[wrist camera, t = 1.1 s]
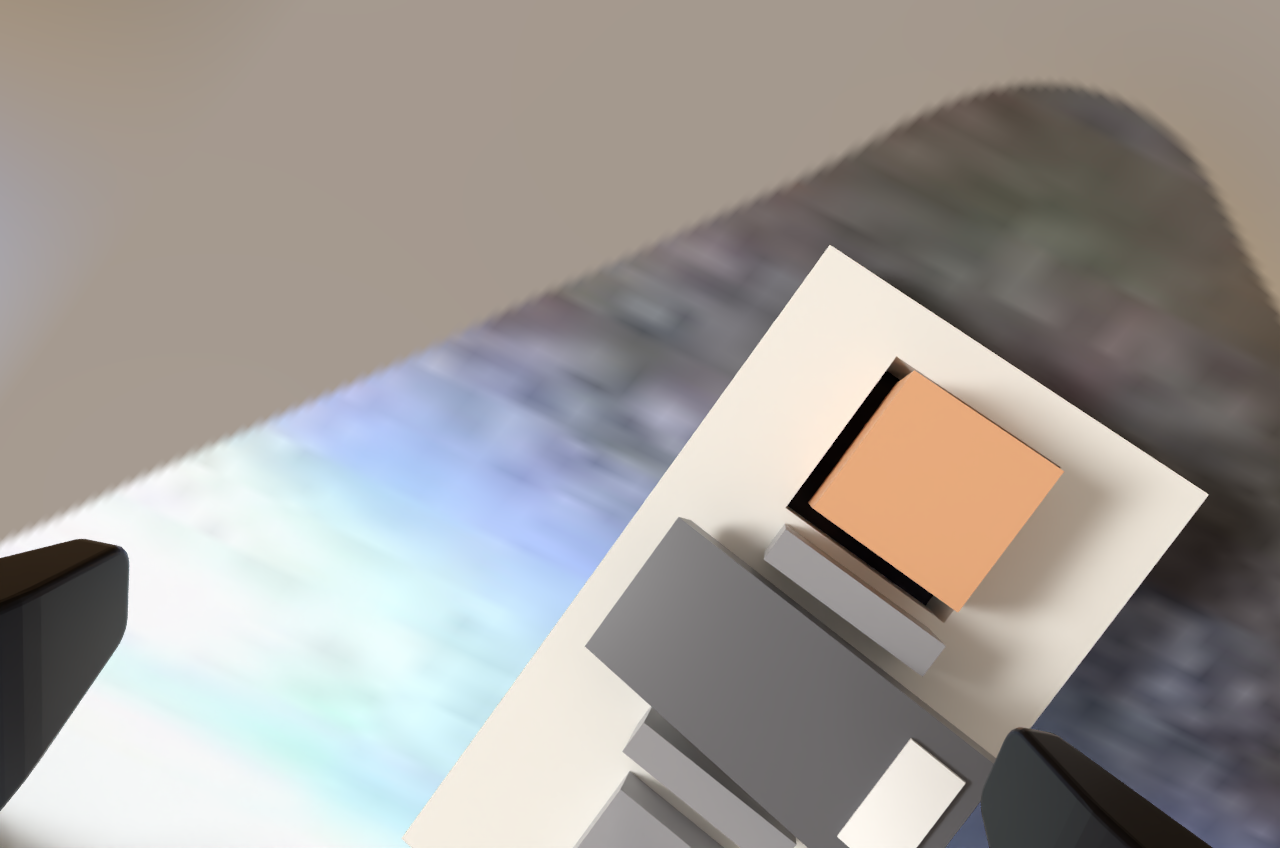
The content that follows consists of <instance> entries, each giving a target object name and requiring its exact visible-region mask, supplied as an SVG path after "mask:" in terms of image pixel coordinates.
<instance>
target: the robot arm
mask: <svg viewBox="0 0 1280 848" xmlns="http://www.w3.org/2000/svg"><path fill="white" fill-rule="evenodd" d="M128 587H129V558H128V555H127V552H126V551H125V550H124V549H123V548H122V547H120V546H117V545H112V544H107V543H102V542H97V541H92V540H87V539H76V540H72V541H68V542H64V543H60V544H56V545H52V546H48V547H44V548H39V549H35V550H31V551H27V552H23V553H19V554H15V555H11V556H7V557H3V558H0V811H1V810H2V808H3V807H4V806H5V805H6V804H7V802H8V801H9V800H10V799H11V797H12V796H13V795H14V794H15V792H16V791H17V790H18V789H19V787H20V786H21V785H22V784H23V783H24V781H25V780H26V779H27V777H28V776H29V775H30V773H31V772H32V770H33V769H34V768H35V766H36V765H37V764H38V762H39V761H40V759H41V758H42V757H43V755H44V754H45V752H46V751H47V749H48V748H49V746H50V745H51V743H52V742H53V741H54V739H55V738H56V736H57V735H58V733H59V732H60V730H61V729H62V727H63V726H64V724H65V723H66V722H67V720H68V719H69V717H70V716H71V714H72V713H73V711H74V710H75V708H76V707H77V705H78V704H79V703H80V701H81V700H82V698H83V697H84V695H85V694H86V692H87V691H88V689H89V688H90V686H91V685H92V684H93V682H94V681H95V679H96V678H97V676H98V675H99V673H100V672H101V670H102V669H103V667H104V666H105V665H106V663H107V662H108V660H109V659H110V657H111V656H112V654H113V653H114V651H115V650H116V648H117V647H118V645H119V644H120V642H121V640H122V637H123V635H124V632H125V629H126V625H127V618H128ZM981 812H982V818H983V822H984V827H985V831H986V835H987V840H988V844H989V848H1212V847H1211V846H1209V845H1208V844H1207V843H1205V842H1204V841H1203V840H1201V839H1200V838H1198V837H1197V836H1196V835H1194V834H1193V833H1192V832H1190V831H1189V830H1187V829H1186V828H1185V827H1183V826H1182V825H1180V824H1179V823H1178V822H1176V821H1175V820H1174V819H1172V818H1171V817H1169V816H1168V815H1167V814H1165V813H1164V812H1163V811H1161V810H1160V809H1158V808H1157V807H1156V806H1154V805H1153V804H1151V803H1150V802H1149V801H1147V800H1146V799H1145V798H1143V797H1142V796H1140V795H1139V794H1138V793H1136V792H1135V791H1133V790H1132V789H1131V788H1129V787H1128V786H1127V785H1125V784H1124V783H1122V782H1121V781H1120V780H1118V779H1117V778H1116V777H1114V776H1113V775H1111V774H1110V773H1109V772H1107V771H1106V770H1104V769H1103V768H1102V767H1100V766H1099V765H1098V764H1096V763H1095V762H1093V761H1092V760H1091V759H1089V758H1088V757H1087V756H1085V755H1084V754H1082V753H1081V752H1080V751H1078V750H1077V749H1075V748H1074V747H1073V746H1071V745H1070V744H1069V743H1067V742H1066V741H1064V740H1063V739H1062V738H1060V737H1059V736H1057V735H1055V734H1052V733H1049V732H1044V731H1039V730H1034V729H1029V728H1023V727H1018V728H1015V729H1013V730H1011V731H1010V732H1009V733H1008V734H1007V736H1006V738H1005V740H1004V742H1003V744H1002V746H1001V749H1000V751H999V753H998V755H997V757H996V760H995V762H994V764H993V766H992V769H991V771H990V773H989V775H988V778H987V780H986V782H985V784H984V787H983V790H982V795H981Z"/></svg>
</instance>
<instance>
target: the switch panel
mask: <svg viewBox="0 0 1280 848" xmlns="http://www.w3.org/2000/svg"><path fill="white" fill-rule="evenodd" d="M914 370H915V371H916V372H918V373H919V374H921V375H922V376H924V377H925V378H926V379H928V380H929V381H931V382H932V383H934V384H935V385H937V386H938V387H940V388H941V389H943V390H944V391H946V392H947V393H949V394H950V395H952V396H953V397H955V398H956V399H958V400H959V401H961V402H962V403H964V404H965V405H967V406H968V407H970V408H971V409H972V410H974V411H975V412H977V413H978V414H980V415H981V416H983V417H984V418H986V419H987V420H989V421H990V422H992V423H993V424H995V425H996V426H998V427H999V428H1001V429H1002V430H1004V431H1005V432H1007V433H1008V434H1010V435H1011V436H1013V437H1014V438H1016V439H1017V440H1018V441H1020V442H1021V443H1023V444H1024V445H1026V446H1027V447H1029V448H1030V449H1032V450H1033V451H1035V452H1036V453H1038V454H1039V455H1041V456H1042V457H1044V458H1045V459H1047V460H1048V461H1050V462H1051V463H1053V464H1054V465H1056V466H1057V467H1059V468H1060V469H1061V470H1063V471H1064V472H1063V474H1062V475H1061V476H1060V478H1059V479H1058V480H1057V482H1056V483H1055V484H1054V486H1053V487H1052V488H1051V490H1050V491H1049V492H1048V494H1047V495H1046V496H1045V498H1044V499H1043V500H1042V502H1041V503H1040V504H1039V506H1038V507H1037V508H1036V510H1035V511H1034V512H1033V514H1032V515H1031V516H1030V518H1029V519H1028V520H1027V522H1026V523H1025V524H1024V526H1023V527H1022V528H1021V530H1020V531H1019V532H1018V534H1017V535H1016V536H1015V538H1014V539H1013V540H1012V542H1011V543H1010V544H1009V546H1008V547H1007V548H1006V550H1005V551H1004V552H1003V554H1002V555H1001V556H1000V558H999V559H998V560H997V562H996V563H995V564H994V566H993V567H992V568H991V570H990V571H989V572H988V574H987V575H986V576H985V578H984V579H983V580H982V582H981V583H980V584H979V586H978V587H977V588H976V590H975V591H974V592H973V594H972V595H971V596H970V598H969V599H968V600H967V602H966V603H965V604H964V606H963V607H962V608H961V610H960V611H959V612H956V611H955V610H953V609H952V608H951V607H949V606H948V605H946V604H945V603H944V602H942V601H941V600H939V599H938V598H937V597H935V596H934V595H933V597H932V598H931V599H930V601H929V602H928V603H927V605H926V606H925V605H924V604H922V603H921V602H920V601H918V600H917V599H916V598H914V597H913V596H911V595H910V594H909V593H907V592H906V591H904V590H903V589H902V588H900V587H899V586H898V585H896V584H895V583H893V582H892V581H891V580H889V579H888V578H887V577H885V576H884V575H882V574H881V573H880V572H878V571H877V570H875V569H874V568H873V567H871V566H870V565H869V564H867V563H866V562H864V561H863V560H862V559H860V558H859V557H858V556H856V555H855V554H853V553H852V552H851V551H849V550H848V549H847V548H845V547H844V546H842V545H841V544H840V543H838V542H837V541H835V540H834V539H833V538H831V537H830V536H829V535H827V534H826V533H824V532H823V531H822V530H820V529H819V528H818V527H816V526H815V525H813V524H812V523H811V522H809V521H808V520H806V519H805V518H804V517H802V516H801V515H800V514H798V513H797V512H795V511H794V510H793V509H791V508H790V507H789V506H787V505H788V504H789V502H790V501H791V500H792V498H793V497H794V496H795V494H796V493H797V491H798V490H799V489H800V487H801V486H802V485H803V483H804V482H805V481H806V479H807V478H808V476H809V475H810V474H811V472H812V471H813V470H814V468H815V467H816V466H817V464H818V463H819V461H820V460H821V459H822V457H823V456H824V455H825V453H826V452H827V451H828V449H829V448H830V446H831V445H832V444H833V442H834V441H835V440H836V438H837V437H838V436H839V434H840V433H841V431H842V430H843V429H844V427H845V426H846V425H847V423H848V422H849V421H850V419H851V418H852V416H853V415H854V414H855V412H856V411H857V410H858V408H859V407H860V406H861V404H862V403H863V401H864V400H865V399H866V397H867V396H868V395H869V393H870V392H871V390H872V389H873V388H874V386H875V385H876V384H877V382H878V381H879V380H880V378H881V377H882V375H883V374H884V373H885V371H888V372H889V373H891V374H892V375H894V376H895V377H896V378H898V379H899V380H902V379H903V378H904V377H906V376H907V375H908V374H910V373H911V372H913V371H914ZM1208 495H1209V494H1207V493H1206V492H1204V491H1203V490H1201V489H1200V488H1198V487H1197V486H1195V485H1193V484H1192V483H1190V482H1189V481H1187V480H1186V479H1184V478H1183V477H1181V476H1180V475H1178V474H1177V473H1175V472H1174V471H1172V470H1171V469H1169V468H1168V467H1166V466H1165V465H1163V464H1162V463H1160V462H1159V461H1157V460H1156V459H1154V458H1152V457H1151V456H1149V455H1148V454H1146V453H1145V452H1143V451H1142V450H1140V449H1139V448H1137V447H1136V446H1134V445H1133V444H1131V443H1130V442H1128V441H1127V440H1125V439H1124V438H1122V437H1121V436H1119V435H1118V434H1116V433H1115V432H1113V431H1111V430H1110V429H1108V428H1107V427H1105V426H1104V425H1102V424H1101V423H1099V422H1098V421H1096V420H1095V419H1093V418H1092V417H1090V416H1089V415H1087V414H1086V413H1084V412H1083V411H1081V410H1080V409H1078V408H1077V407H1075V406H1074V405H1072V404H1070V403H1069V402H1067V401H1066V400H1064V399H1063V398H1061V397H1060V396H1058V395H1057V394H1055V393H1054V392H1052V391H1051V390H1049V389H1048V388H1046V387H1045V386H1043V385H1042V384H1040V383H1039V382H1037V381H1036V380H1034V379H1033V378H1031V377H1029V376H1028V375H1026V374H1025V373H1023V372H1022V371H1020V370H1019V369H1017V368H1016V367H1014V366H1013V365H1011V364H1010V363H1008V362H1007V361H1005V360H1004V359H1002V358H1001V357H999V356H998V355H996V354H995V353H993V352H992V351H990V350H988V349H987V348H985V347H984V346H982V345H981V344H979V343H978V342H976V341H975V340H973V339H972V338H970V337H969V336H967V335H966V334H964V333H963V332H961V331H960V330H958V329H957V328H955V327H954V326H952V325H951V324H949V323H947V322H946V321H944V320H943V319H941V318H940V317H938V316H937V315H935V314H934V313H932V312H931V311H929V310H928V309H926V308H925V307H923V306H922V305H920V304H919V303H917V302H916V301H914V300H913V299H911V298H910V297H908V296H907V295H905V294H903V293H902V292H900V291H899V290H897V289H896V288H894V287H893V286H891V285H890V284H888V283H887V282H885V281H884V280H882V279H881V278H879V277H878V276H876V275H875V274H873V273H872V272H870V271H869V270H867V269H866V268H864V267H862V266H861V265H859V264H858V263H856V262H855V261H853V260H852V259H850V258H849V257H847V256H846V255H844V254H843V253H841V252H840V251H838V250H837V249H835V248H834V247H832V246H831V245H830V246H829V247H828V248H827V250H826V251H825V252H824V254H823V255H822V257H821V258H820V259H819V261H818V262H817V264H816V265H815V266H814V268H813V269H812V270H811V272H810V273H809V275H808V276H807V277H806V279H805V280H804V282H803V283H802V284H801V286H800V287H799V288H798V290H797V291H796V293H795V294H794V295H793V297H792V298H791V300H790V301H789V302H788V304H787V305H786V306H785V308H784V309H783V311H782V312H781V313H780V315H779V316H778V318H777V319H776V320H775V322H774V323H773V324H772V326H771V327H770V329H769V330H768V331H767V333H766V334H765V336H764V337H763V338H762V340H761V341H760V343H759V344H758V345H757V347H756V348H755V349H754V351H753V352H752V354H751V355H750V356H749V358H748V359H747V361H746V362H745V363H744V365H743V366H742V367H741V369H740V370H739V372H738V373H737V374H736V376H735V377H734V379H733V380H732V381H731V383H730V384H729V385H728V387H727V388H726V390H725V391H724V392H723V394H722V395H721V397H720V398H719V399H718V401H717V402H716V403H715V405H714V406H713V408H712V409H711V410H710V412H709V413H708V415H707V416H706V417H705V419H704V420H703V421H702V423H701V424H700V426H699V427H698V428H697V430H696V431H695V433H694V434H693V435H692V437H691V438H690V439H689V441H688V442H687V444H686V445H685V446H684V448H683V449H682V451H681V452H680V453H679V455H678V456H677V457H676V459H675V460H674V462H673V463H672V464H671V466H670V467H669V469H668V470H667V471H666V473H665V474H664V475H663V477H662V478H661V480H660V481H659V482H658V484H657V485H656V487H655V488H654V489H653V491H652V492H651V493H650V495H649V496H648V498H647V499H646V500H645V502H644V503H643V505H642V506H641V507H640V509H639V510H638V511H637V513H636V514H635V516H634V517H633V518H632V520H631V521H630V523H629V524H628V525H627V527H626V528H625V529H624V531H623V532H622V534H621V535H620V536H619V538H618V539H617V541H616V542H615V543H614V545H613V546H612V548H611V549H610V550H609V552H608V553H607V554H606V556H605V557H604V559H603V560H602V561H601V563H600V564H599V566H598V567H597V568H596V570H595V571H594V572H593V574H592V575H591V577H590V578H589V579H588V581H587V582H586V584H585V585H584V586H583V588H582V589H581V590H580V592H579V593H578V595H577V596H576V597H575V599H574V600H573V602H572V603H571V604H570V606H569V607H568V608H567V610H566V611H565V613H564V614H563V615H562V617H561V618H560V620H559V621H558V622H557V624H556V625H555V626H554V628H553V629H552V631H551V632H550V633H549V635H548V636H547V638H546V639H545V640H544V642H543V643H542V644H541V646H540V647H539V649H538V650H537V651H536V653H535V654H534V656H533V657H532V658H531V660H530V661H529V662H528V664H527V665H526V667H525V668H524V669H523V671H522V672H521V674H520V675H519V676H518V678H517V679H516V680H515V682H514V683H513V685H512V686H511V687H510V689H509V690H508V692H507V693H506V694H505V696H504V697H503V698H502V700H501V701H500V703H499V704H498V705H497V707H496V708H495V710H494V711H493V712H492V714H491V715H490V716H489V718H488V719H487V721H486V722H485V723H484V725H483V726H482V728H481V729H480V730H479V732H478V733H477V735H476V736H475V737H474V739H473V740H472V741H471V743H470V744H469V746H468V747H467V748H466V750H465V751H464V753H463V754H462V755H461V757H460V758H459V759H458V761H457V762H456V764H455V765H454V766H453V768H452V769H451V771H450V772H449V773H448V775H447V776H446V777H445V779H444V780H443V782H442V783H441V784H440V786H439V787H438V789H437V790H436V791H435V793H434V794H433V795H432V797H431V798H430V800H429V801H428V802H427V804H426V805H425V807H424V808H423V809H422V811H421V812H420V813H419V815H418V816H417V818H416V819H415V820H414V822H413V823H412V825H411V826H410V827H409V829H408V830H407V831H406V833H405V834H404V836H403V837H402V838H401V839H403V840H404V841H405V842H406V843H407V844H408V845H409V846H410V847H412V848H807V847H806V846H805V845H804V844H803V843H802V842H801V841H800V840H799V839H797V838H796V837H795V836H794V835H793V834H792V833H791V832H790V831H789V830H787V829H786V828H785V827H784V826H783V825H782V824H781V823H780V822H779V821H778V820H776V819H775V818H774V817H773V816H772V815H771V814H770V813H769V812H768V811H766V810H765V809H764V808H763V807H762V806H761V805H760V804H759V803H758V802H756V801H755V800H754V799H753V798H752V797H751V796H750V795H749V794H748V793H747V792H745V791H744V790H743V789H742V788H741V787H740V786H739V785H738V784H737V783H735V782H734V781H733V780H732V779H731V778H730V777H729V776H728V775H727V774H725V773H724V772H723V771H722V770H721V769H720V768H719V767H718V766H717V765H715V764H714V763H713V762H712V761H711V760H710V759H709V758H708V757H707V756H706V755H704V754H703V753H702V752H701V751H700V750H699V749H698V748H697V747H696V746H694V745H693V744H692V743H691V742H690V741H689V740H688V739H687V738H686V737H684V736H683V735H682V734H681V733H680V732H679V731H678V730H677V729H676V728H675V727H673V726H672V725H671V724H670V723H669V722H668V721H667V720H666V719H665V718H663V717H662V716H661V715H660V714H659V713H658V712H657V711H656V710H655V709H653V708H652V707H651V706H650V705H649V704H648V703H647V702H646V701H645V700H644V699H642V698H641V697H640V696H639V695H638V694H637V693H636V692H635V691H634V690H632V689H631V688H630V687H629V686H628V685H627V684H626V683H625V682H624V681H622V680H621V679H620V678H619V677H618V676H617V675H616V674H615V673H614V672H612V671H611V670H610V669H609V668H608V667H607V666H606V665H605V664H604V663H603V662H601V661H600V660H599V659H598V658H597V657H596V656H595V655H594V654H593V653H591V652H590V651H589V650H588V649H587V648H586V647H585V645H586V644H587V642H588V641H589V640H590V638H591V637H592V636H593V634H594V633H595V631H596V630H597V629H598V627H599V626H600V625H601V623H602V622H603V620H604V619H605V618H606V616H607V615H608V614H609V612H610V611H611V609H612V608H613V607H614V605H615V604H616V602H617V601H618V600H619V598H620V597H621V596H622V594H623V593H624V591H625V590H626V589H627V587H628V586H629V585H630V583H631V582H632V580H633V579H634V578H635V576H636V575H637V574H638V572H639V571H640V569H641V568H642V567H643V565H644V564H645V562H646V561H647V560H648V558H649V557H650V556H651V554H652V553H653V551H654V550H655V549H656V547H657V546H658V545H659V543H660V542H661V540H662V539H663V538H664V536H665V535H666V534H667V532H668V531H669V529H670V528H671V527H672V525H673V524H674V523H675V521H676V520H677V518H678V517H681V518H685V519H689V520H691V521H693V522H694V523H695V524H697V525H698V526H699V527H700V528H702V529H703V530H704V531H705V532H707V533H708V534H709V535H711V536H712V537H713V538H714V539H716V540H717V541H718V542H720V543H721V544H722V545H723V546H725V547H726V548H727V549H729V550H730V551H731V552H732V553H734V554H735V555H736V556H738V557H739V558H740V559H741V560H743V561H744V562H745V563H747V564H748V565H749V566H750V567H752V568H753V569H754V570H755V571H757V572H758V573H759V574H761V575H762V576H763V577H764V578H766V579H767V580H768V581H770V582H771V583H772V584H773V585H775V586H776V587H777V588H779V589H780V590H781V591H782V592H784V593H785V594H786V595H788V596H789V597H790V598H791V599H793V600H794V601H795V602H796V603H798V604H799V605H800V606H802V607H803V608H804V609H805V610H807V611H808V612H809V613H811V614H812V615H813V616H814V617H816V618H817V619H818V620H820V621H821V622H822V623H823V624H825V625H826V626H827V627H829V628H830V629H831V630H832V631H834V632H835V633H836V634H838V635H839V636H840V637H841V638H843V639H844V640H845V641H846V642H848V643H849V644H850V645H852V646H853V647H854V648H855V649H857V650H858V651H859V652H861V653H862V654H863V655H864V656H866V657H867V658H868V659H870V660H871V661H872V662H873V663H875V664H876V665H877V666H879V667H880V668H881V669H882V670H884V671H885V672H886V673H887V674H889V675H890V676H891V677H893V678H894V679H895V680H896V681H898V682H899V683H900V684H902V685H903V686H904V687H905V688H907V689H908V690H909V691H911V692H912V693H913V694H914V695H916V696H917V697H918V698H920V699H921V700H922V701H923V702H925V703H926V704H927V705H929V706H930V707H931V708H932V709H934V710H935V711H936V712H937V713H939V714H940V715H941V716H943V717H944V718H945V719H946V720H948V721H949V722H950V723H952V724H953V725H954V726H955V727H957V728H958V729H959V730H961V731H962V732H963V733H964V734H966V735H967V736H968V737H970V738H971V739H972V740H973V741H975V742H976V743H977V744H978V745H980V746H981V747H982V748H984V749H985V750H986V751H987V752H989V753H990V754H991V755H993V756H994V757H995V758H996V757H997V755H998V753H999V751H1000V749H1001V746H1002V744H1003V742H1004V740H1005V738H1006V736H1007V734H1008V733H1009V732H1010V731H1011V730H1013V729H1015V728H1018V727H1023V728H1029V729H1030V728H1031V727H1032V726H1033V724H1034V723H1035V722H1036V720H1037V719H1038V718H1039V716H1040V715H1041V714H1042V713H1043V711H1044V710H1045V709H1046V707H1047V706H1048V705H1049V703H1050V702H1051V701H1052V699H1053V698H1054V697H1055V695H1056V694H1057V693H1058V692H1059V690H1060V689H1061V688H1062V686H1063V685H1064V684H1065V682H1066V681H1067V680H1068V678H1069V677H1070V676H1071V675H1072V673H1073V672H1074V671H1075V669H1076V668H1077V667H1078V665H1079V664H1080V663H1081V661H1082V660H1083V659H1084V658H1085V656H1086V655H1087V654H1088V652H1089V651H1090V650H1091V648H1092V647H1093V646H1094V644H1095V643H1096V642H1097V641H1098V639H1099V638H1100V637H1101V635H1102V634H1103V633H1104V631H1105V630H1106V629H1107V627H1108V626H1109V625H1110V623H1111V622H1112V621H1113V620H1114V618H1115V617H1116V616H1117V614H1118V613H1119V612H1120V610H1121V609H1122V608H1123V606H1124V605H1125V604H1126V603H1127V601H1128V600H1129V599H1130V597H1131V596H1132V595H1133V593H1134V592H1135V591H1136V589H1137V588H1138V587H1139V586H1140V584H1141V583H1142V582H1143V580H1144V579H1145V578H1146V576H1147V575H1148V574H1149V572H1150V571H1151V570H1152V569H1153V567H1154V566H1155V565H1156V563H1157V562H1158V561H1159V559H1160V558H1161V557H1162V555H1163V554H1164V553H1165V551H1166V550H1167V549H1168V548H1169V546H1170V545H1171V544H1172V542H1173V541H1174V540H1175V538H1176V537H1177V536H1178V534H1179V533H1180V532H1181V531H1182V529H1183V528H1184V527H1185V525H1186V524H1187V523H1188V521H1189V520H1190V519H1191V517H1192V516H1193V515H1194V514H1195V512H1196V511H1197V510H1198V508H1199V507H1200V506H1201V504H1202V503H1203V502H1204V500H1205V499H1206V498H1207V497H1208Z"/></svg>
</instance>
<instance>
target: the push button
mask: <svg viewBox="0 0 1280 848" xmlns="http://www.w3.org/2000/svg"><path fill="white" fill-rule="evenodd" d="M1063 472H1064V471H1063V470H1061V469H1060V468H1059V467H1057V466H1056V465H1054V464H1053V463H1051V462H1050V461H1048V460H1047V459H1045V458H1044V457H1042V456H1041V455H1039V454H1038V453H1036V452H1035V451H1033V450H1032V449H1030V448H1029V447H1027V446H1026V445H1024V444H1023V443H1021V442H1020V441H1018V440H1017V439H1016V438H1014V437H1013V436H1011V435H1010V434H1008V433H1007V432H1005V431H1004V430H1002V429H1001V428H999V427H998V426H996V425H995V424H993V423H992V422H990V421H989V420H987V419H986V418H984V417H983V416H981V415H980V414H978V413H977V412H975V411H974V410H972V409H971V408H970V407H968V406H967V405H965V404H964V403H962V402H961V401H959V400H958V399H956V398H955V397H953V396H952V395H950V394H949V393H947V392H946V391H944V390H943V389H941V388H940V387H938V386H937V385H935V384H934V383H932V382H931V381H929V380H928V379H926V378H925V377H924V376H922V375H921V374H919V373H918V372H916V371H915V370H914V371H913V372H911V373H910V374H908V375H907V376H906V377H904V378H903V379H902V380H900V381H899V382H897V383H896V384H895V385H894V386H893V388H892V389H891V390H890V392H889V393H888V394H887V396H886V397H885V399H884V400H883V401H882V403H881V404H880V405H879V407H878V408H877V409H876V411H875V412H874V414H873V415H872V416H871V418H870V419H869V420H868V422H867V423H866V424H865V426H864V427H863V429H862V430H861V431H860V433H859V434H858V435H857V437H856V438H855V439H854V441H853V442H852V443H851V445H850V446H849V448H848V449H847V450H846V452H845V453H844V454H843V456H842V457H841V458H840V460H839V461H838V463H837V464H836V465H835V467H834V468H833V469H832V471H831V472H830V473H829V475H828V476H827V478H826V479H825V480H824V482H823V483H822V484H821V486H820V487H819V488H818V490H817V491H816V493H815V494H814V495H813V497H812V498H811V499H810V501H809V502H808V503H809V504H810V506H811V507H812V508H813V509H815V510H816V511H817V512H819V513H820V514H822V515H823V516H824V517H826V518H827V519H828V520H830V521H831V522H833V523H834V524H835V525H837V526H838V527H840V528H841V529H842V530H844V531H845V532H847V533H848V534H849V535H851V536H852V537H853V538H855V539H856V540H858V541H859V542H860V543H862V544H863V545H865V546H866V547H867V548H869V549H870V550H871V551H873V552H874V553H876V554H877V555H878V556H880V557H881V558H883V559H884V560H885V561H887V562H888V563H890V564H891V565H892V566H894V567H895V568H896V569H898V570H899V571H901V572H902V573H903V574H905V575H906V576H908V577H909V578H910V579H912V580H913V581H915V582H916V583H917V584H919V585H920V586H921V587H923V588H924V589H926V590H927V591H928V592H930V593H931V594H933V595H934V596H935V597H937V598H938V599H939V600H941V601H942V602H944V603H945V604H946V605H948V606H949V607H951V608H952V609H953V610H955V611H956V612H959V611H960V610H961V608H962V607H963V606H964V604H965V603H966V602H967V600H968V599H969V598H970V596H971V595H972V594H973V592H974V591H975V590H976V588H977V587H978V586H979V584H980V583H981V582H982V580H983V579H984V578H985V576H986V575H987V574H988V572H989V571H990V570H991V568H992V567H993V566H994V564H995V563H996V562H997V560H998V559H999V558H1000V556H1001V555H1002V554H1003V552H1004V551H1005V550H1006V548H1007V547H1008V546H1009V544H1010V543H1011V542H1012V540H1013V539H1014V538H1015V536H1016V535H1017V534H1018V532H1019V531H1020V530H1021V528H1022V527H1023V526H1024V524H1025V523H1026V522H1027V520H1028V519H1029V518H1030V516H1031V515H1032V514H1033V512H1034V511H1035V510H1036V508H1037V507H1038V506H1039V504H1040V503H1041V502H1042V500H1043V499H1044V498H1045V496H1046V495H1047V494H1048V492H1049V491H1050V490H1051V488H1052V487H1053V486H1054V484H1055V483H1056V482H1057V480H1058V479H1059V478H1060V476H1061V475H1062V474H1063Z"/></svg>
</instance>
